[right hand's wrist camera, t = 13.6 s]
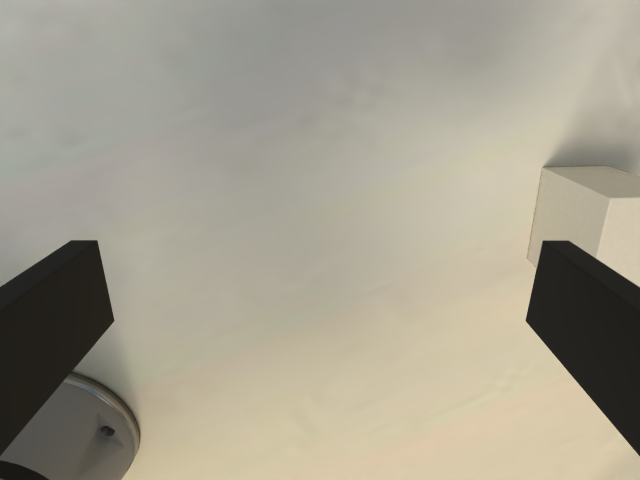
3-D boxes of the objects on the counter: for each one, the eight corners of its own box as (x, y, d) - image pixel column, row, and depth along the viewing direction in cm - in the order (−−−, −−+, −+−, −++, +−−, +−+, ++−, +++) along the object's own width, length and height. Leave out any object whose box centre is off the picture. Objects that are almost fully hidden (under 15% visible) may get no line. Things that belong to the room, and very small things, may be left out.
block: (607, 165, 32) (697, 195, 24) (586, 257, 35) (660, 311, 27) (542, 167, 32) (610, 198, 24) (526, 259, 35) (583, 312, 27)
